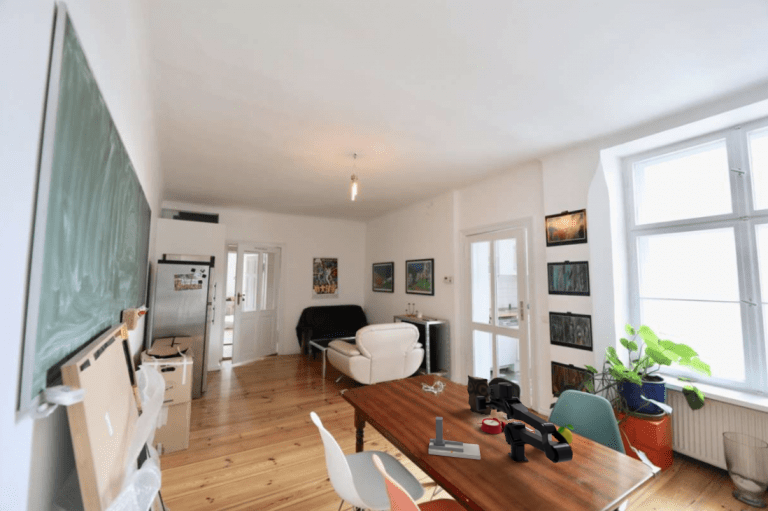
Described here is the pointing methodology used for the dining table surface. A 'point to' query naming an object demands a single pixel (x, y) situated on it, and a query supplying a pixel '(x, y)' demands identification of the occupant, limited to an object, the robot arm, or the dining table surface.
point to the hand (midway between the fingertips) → (484, 398)
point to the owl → (478, 393)
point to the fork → (511, 419)
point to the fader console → (455, 449)
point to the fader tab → (439, 432)
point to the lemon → (566, 432)
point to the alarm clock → (492, 425)
